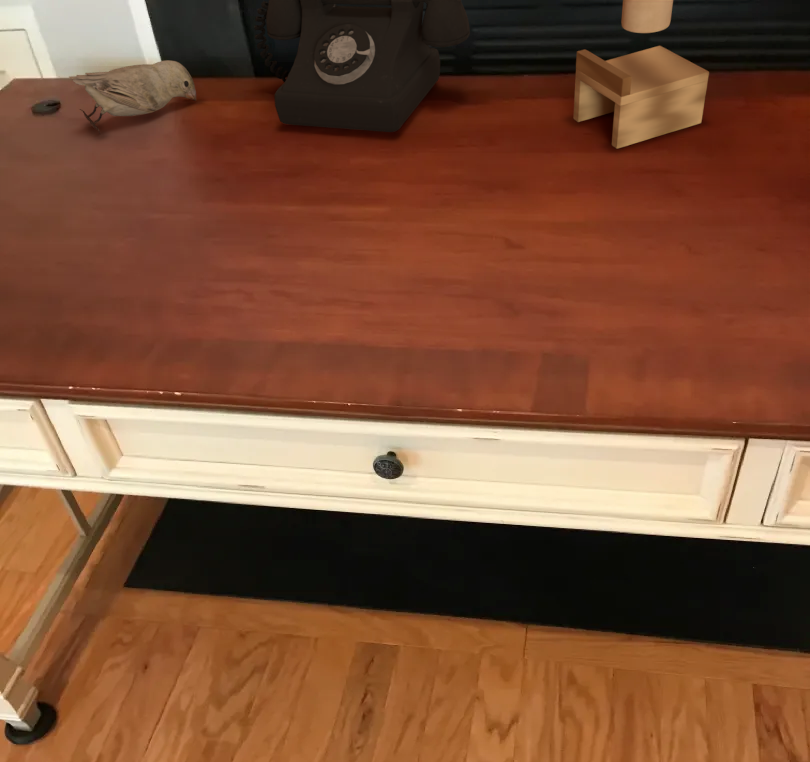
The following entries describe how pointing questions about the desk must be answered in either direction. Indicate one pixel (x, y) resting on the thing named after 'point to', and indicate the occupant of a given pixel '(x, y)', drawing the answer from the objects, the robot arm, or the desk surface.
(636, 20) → the candle
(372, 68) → the rotary telephone
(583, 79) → the wooden stand
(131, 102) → the decorative bird
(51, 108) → the desk surface
